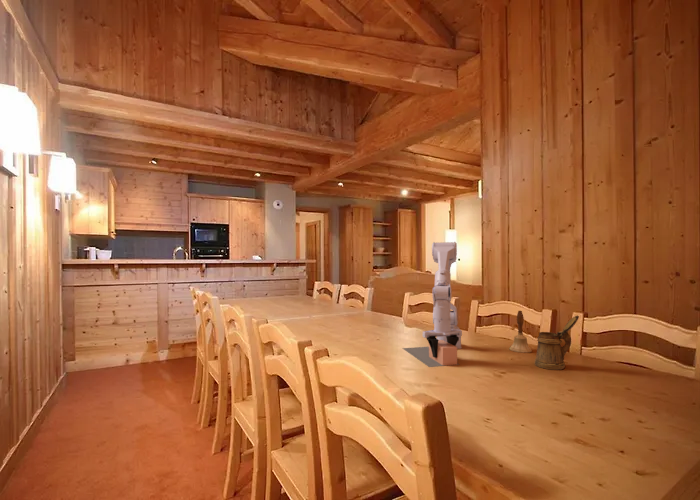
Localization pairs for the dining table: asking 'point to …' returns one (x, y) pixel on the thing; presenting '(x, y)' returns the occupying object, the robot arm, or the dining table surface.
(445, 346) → the terracotta cover
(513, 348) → the hand bell
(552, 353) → the wooden mug
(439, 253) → the robot arm
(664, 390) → the dining table surface
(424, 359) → the charcoal mat
